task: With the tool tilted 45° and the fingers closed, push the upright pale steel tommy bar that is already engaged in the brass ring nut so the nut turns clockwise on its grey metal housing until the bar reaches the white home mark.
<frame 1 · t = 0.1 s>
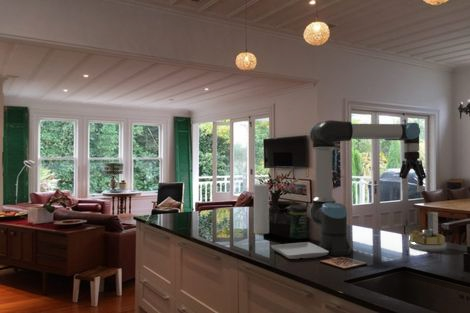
hand: (412, 191, 205), 28 cm above the worktop, tool pointing down, fingers open, 13 cm apart
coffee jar: (298, 238, 220), on the worktop
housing: (427, 247, 194), on the worktop
cylinder container: (261, 232, 237), on the worktop
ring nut: (427, 227, 195), point 11 cm above the worktop, hinge at 28.0°
salad plate: (299, 255, 182), on the worktop
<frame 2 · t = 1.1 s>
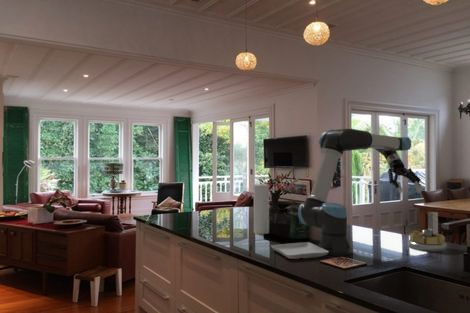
hand: (410, 191, 211), 27 cm above the worktop, tool tilted 45°, fingers open, 10 cm apart
nothing on the worktop moved.
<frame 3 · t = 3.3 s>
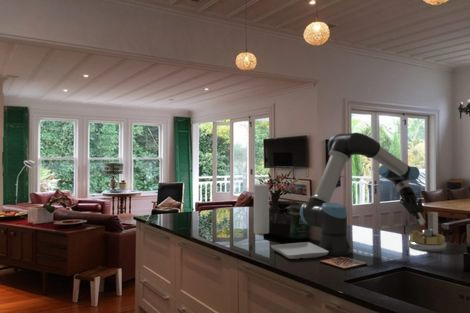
hand: (423, 223, 207), 10 cm above the worktop, tool tilted 45°, fingers closed
nothing on the worktop moved.
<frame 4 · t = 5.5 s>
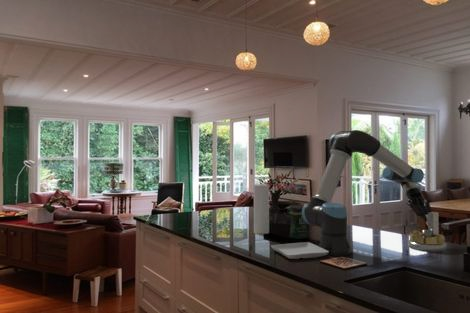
hand: (431, 226, 201), 10 cm above the worktop, tool tilted 45°, fingers closed
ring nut: (427, 227, 195), point 11 cm above the worktop, hinge at 25.9°, touching gripper
everything else where it was.
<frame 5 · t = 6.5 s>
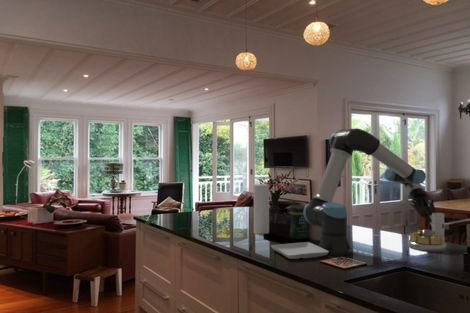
hand: (435, 227, 197), 10 cm above the worktop, tool tilted 45°, fingers closed
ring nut: (427, 227, 194), point 11 cm above the worktop, hinge at -2.7°, touching gripper
everything else where it was.
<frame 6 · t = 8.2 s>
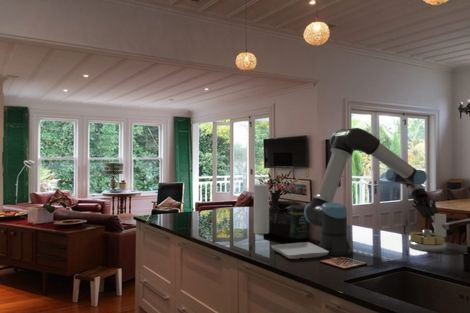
hand: (437, 227, 195), 10 cm above the worktop, tool tilted 45°, fingers closed
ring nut: (428, 227, 194), point 11 cm above the worktop, hinge at -27.5°
everything else where it was.
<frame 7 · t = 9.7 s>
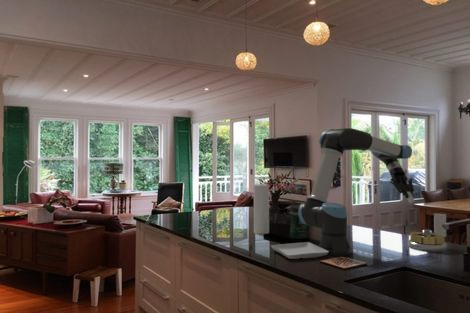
hand: (412, 202, 208), 22 cm above the worktop, tool tilted 45°, fingers closed
nothing on the worktop moved.
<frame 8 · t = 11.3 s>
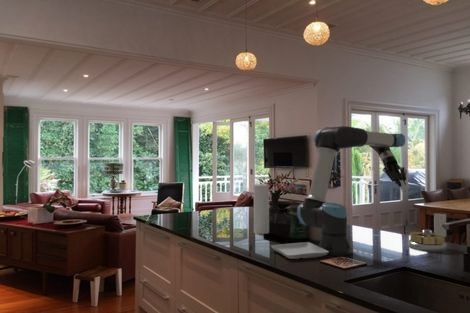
hand: (404, 190, 210), 28 cm above the worktop, tool tilted 45°, fingers closed
nothing on the worktop moved.
at the end: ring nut at -28° (first picture: +28°); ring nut touching nothing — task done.
